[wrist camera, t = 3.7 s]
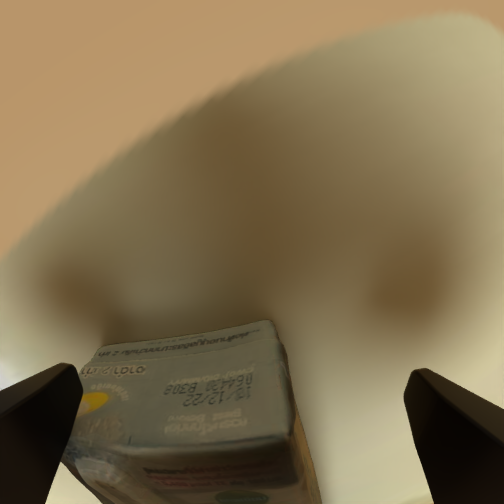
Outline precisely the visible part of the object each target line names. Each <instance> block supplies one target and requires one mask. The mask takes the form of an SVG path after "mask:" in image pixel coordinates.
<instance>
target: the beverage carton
mask: <svg viewBox="0 0 504 504" xmlns="http://www.w3.org/2000/svg"><path fill="white" fill-rule="evenodd" d="M79 378H80V381H81V383H82V386H83V397H82V400H81V403H80V406H79V409H78V412H77V416H76V419H75V422H74V426H73V429H72V432H71V435H70V438H69V441H68V444H67V446H66V448H65V451H64V453H63V456H62V459H61V462H62V463H63V464H64V465H65V466H66V467H67V468H68V470H69V471H70V472H71V473H72V474H73V475H74V476H75V478H76V479H77V480H79V481H80V482H81V483H82V484H83V485H84V486H85V487H86V488H87V489H88V490H89V491H91V492H92V493H93V494H94V495H95V496H96V497H97V498H98V499H99V500H100V502H101V503H102V504H322V501H321V496H320V491H319V487H318V483H317V479H316V474H315V470H314V466H313V462H312V459H311V456H310V452H309V448H308V445H307V441H306V437H305V434H304V430H303V427H302V424H301V421H300V417H299V414H298V410H297V406H296V403H295V399H294V395H293V390H292V384H291V378H290V372H289V366H288V358H287V354H286V351H285V348H284V345H283V344H282V343H281V342H280V340H279V337H278V334H277V332H276V329H275V326H274V325H273V323H272V321H271V320H262V321H257V322H253V323H250V324H246V325H242V326H236V327H231V328H226V329H221V330H217V331H211V332H206V333H200V334H192V335H185V336H179V337H171V338H165V339H155V340H148V341H140V342H131V343H120V344H113V345H108V346H103V347H101V348H100V349H98V351H97V352H96V354H95V355H94V357H93V358H92V359H91V361H90V362H89V363H88V364H86V365H85V366H84V367H83V368H82V369H81V371H80V373H79Z"/></svg>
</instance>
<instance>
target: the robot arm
mask: <svg viewBox="0 0 504 504" xmlns="http://www.w3.org/2000/svg"><path fill="white" fill-rule="evenodd" d="M82 397H83V386H82V383H81V381H80V378H79V375H78V373H77V370H76V368H75V367H74V365H72V364H67V363H59V364H57V365H55V366H53V367H50V368H48V369H46V370H44V371H42V372H40V373H38V374H36V375H33V376H31V377H29V378H27V379H25V380H23V381H21V382H18V383H16V384H14V385H12V386H10V387H8V388H5V389H3V390H1V391H0V504H45V503H46V500H47V497H48V494H49V491H50V488H51V485H52V483H53V480H54V477H55V474H56V472H57V469H58V466H59V464H60V461H61V459H62V456H63V453H64V451H65V448H66V446H67V444H68V441H69V438H70V435H71V432H72V429H73V426H74V422H75V419H76V416H77V412H78V409H79V406H80V403H81V400H82ZM404 403H405V407H406V411H407V415H408V419H409V423H410V427H411V431H412V436H413V440H414V444H415V447H416V450H417V453H418V456H419V459H420V462H421V464H422V467H423V470H424V473H425V476H426V479H427V483H428V486H429V489H430V492H431V495H432V499H433V502H434V504H504V409H502V408H501V407H499V406H497V405H495V404H493V403H491V402H489V401H487V400H485V399H483V398H482V397H480V396H478V395H476V394H474V393H472V392H470V391H468V390H467V389H465V388H463V387H461V386H459V385H457V384H455V383H454V382H452V381H450V380H448V379H446V378H444V377H442V376H441V375H439V374H437V373H435V372H433V371H431V370H429V369H428V368H421V369H416V370H413V371H412V372H411V374H410V377H409V380H408V383H407V386H406V389H405V391H404Z"/></svg>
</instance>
